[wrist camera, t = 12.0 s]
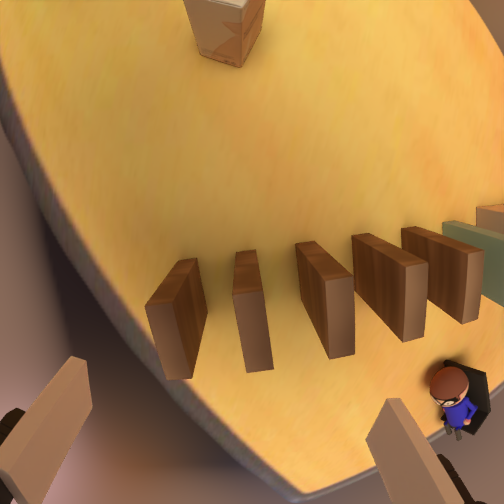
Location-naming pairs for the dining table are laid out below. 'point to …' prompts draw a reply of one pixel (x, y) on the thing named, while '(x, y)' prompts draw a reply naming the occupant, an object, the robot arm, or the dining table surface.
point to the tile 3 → (327, 298)
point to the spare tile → (495, 257)
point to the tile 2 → (251, 313)
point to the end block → (491, 218)
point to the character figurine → (461, 397)
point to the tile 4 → (391, 284)
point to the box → (225, 27)
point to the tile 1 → (178, 319)
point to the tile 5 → (449, 271)
